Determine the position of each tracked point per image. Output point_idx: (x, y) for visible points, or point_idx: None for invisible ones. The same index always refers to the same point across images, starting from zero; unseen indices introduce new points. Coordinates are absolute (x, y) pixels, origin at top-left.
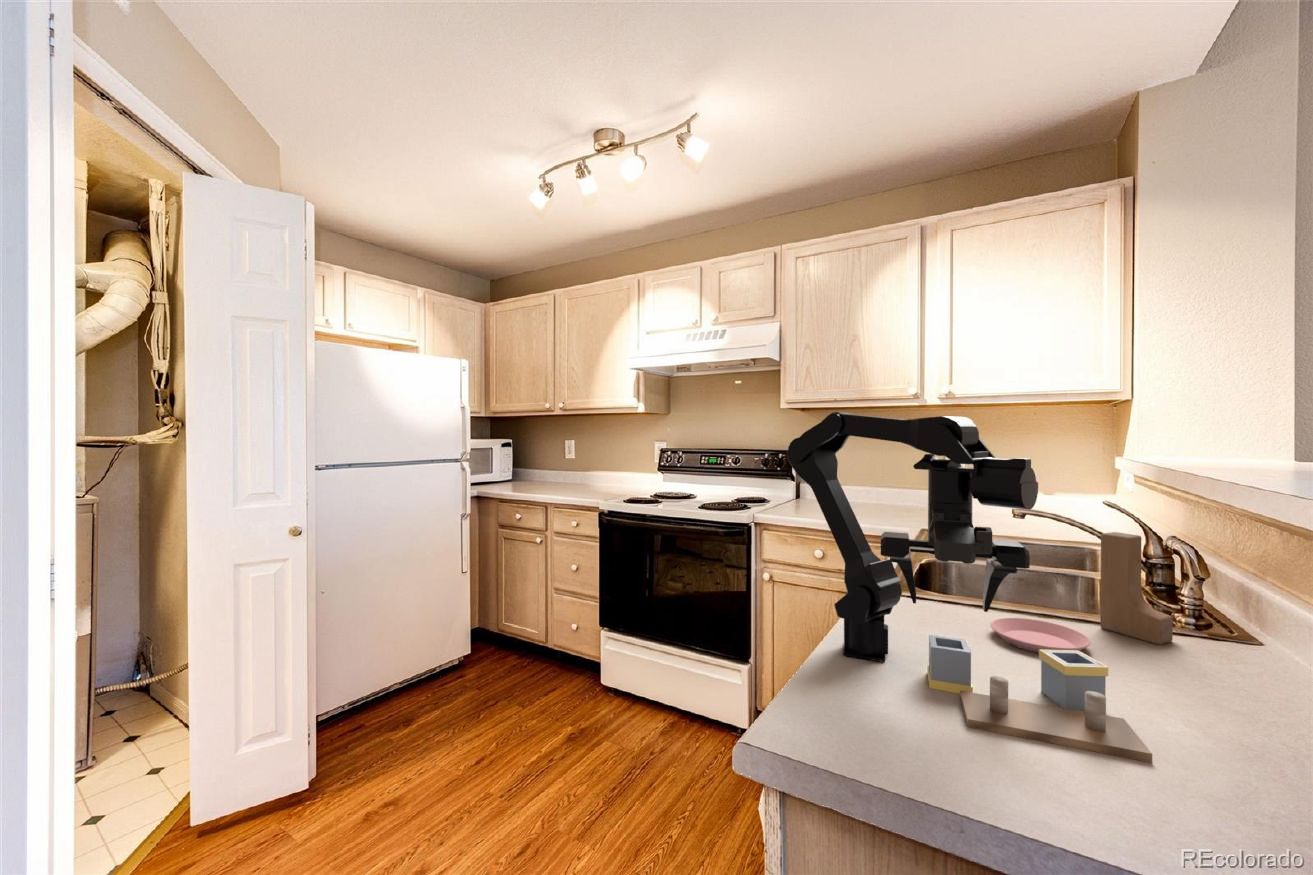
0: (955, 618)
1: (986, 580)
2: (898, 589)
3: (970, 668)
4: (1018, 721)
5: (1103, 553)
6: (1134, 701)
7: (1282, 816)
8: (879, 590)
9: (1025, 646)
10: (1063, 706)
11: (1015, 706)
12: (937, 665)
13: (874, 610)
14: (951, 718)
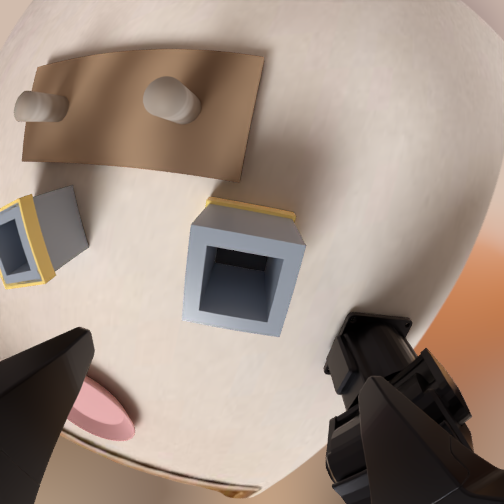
0: (178, 452)
1: (24, 444)
2: (343, 462)
3: (202, 212)
4: (165, 73)
5: None
6: None
7: (14, 35)
8: (435, 421)
9: (96, 385)
10: (71, 191)
11: (146, 136)
12: (282, 225)
13: (418, 378)
14: (285, 87)
